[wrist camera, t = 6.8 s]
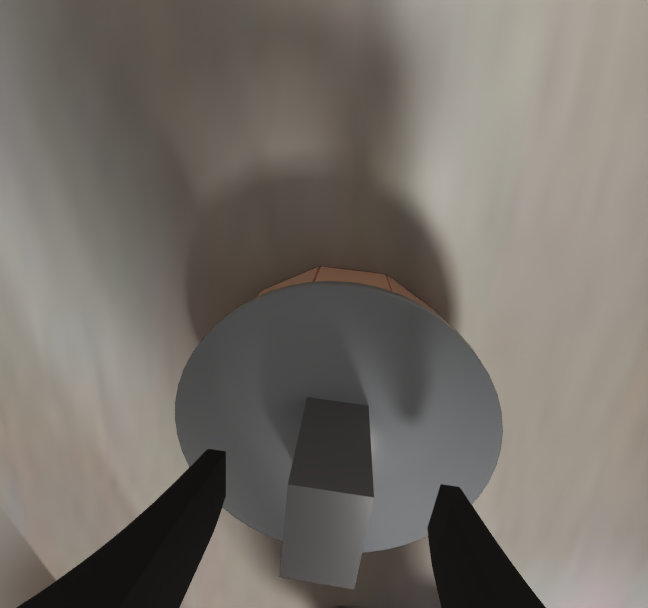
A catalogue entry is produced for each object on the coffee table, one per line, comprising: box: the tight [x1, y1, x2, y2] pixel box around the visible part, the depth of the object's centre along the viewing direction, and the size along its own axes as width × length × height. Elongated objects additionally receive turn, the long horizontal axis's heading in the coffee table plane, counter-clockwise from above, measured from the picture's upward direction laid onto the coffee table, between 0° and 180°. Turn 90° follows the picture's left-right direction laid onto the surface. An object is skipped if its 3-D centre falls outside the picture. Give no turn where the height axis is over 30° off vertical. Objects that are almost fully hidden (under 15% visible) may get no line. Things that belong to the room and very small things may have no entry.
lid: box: [175, 281, 503, 590], centre depth 12 cm, size 13×13×5 cm
